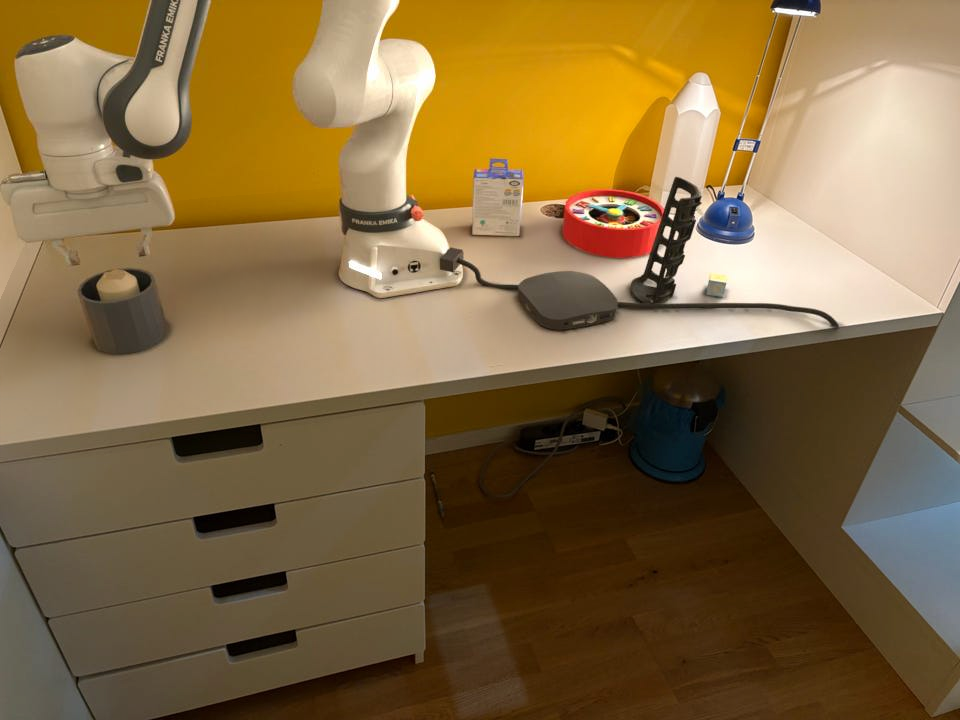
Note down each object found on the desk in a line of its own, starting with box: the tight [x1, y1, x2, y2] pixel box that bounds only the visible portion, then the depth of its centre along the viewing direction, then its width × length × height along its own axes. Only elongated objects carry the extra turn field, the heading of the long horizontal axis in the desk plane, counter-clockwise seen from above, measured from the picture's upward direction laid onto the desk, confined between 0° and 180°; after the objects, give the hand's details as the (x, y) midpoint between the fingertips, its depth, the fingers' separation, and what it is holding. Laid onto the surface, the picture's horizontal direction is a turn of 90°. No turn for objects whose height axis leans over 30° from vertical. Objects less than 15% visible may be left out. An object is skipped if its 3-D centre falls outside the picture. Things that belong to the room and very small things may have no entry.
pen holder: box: [77, 267, 168, 355], centre depth 111 cm, size 11×11×9 cm
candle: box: [96, 268, 140, 302], centre depth 110 cm, size 6×6×10 cm
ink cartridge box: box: [471, 158, 524, 237], centre depth 145 cm, size 10×6×14 cm, turn 89°
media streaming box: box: [517, 270, 619, 331], centre depth 124 cm, size 15×15×3 cm
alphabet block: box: [705, 272, 729, 298], centre depth 129 cm, size 3×3×3 cm
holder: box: [629, 176, 703, 304], centre depth 124 cm, size 11×8×20 cm
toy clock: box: [561, 188, 665, 259], centre depth 147 cm, size 20×6×20 cm
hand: (110, 259), depth 106 cm, fingers open, 8 cm apart
